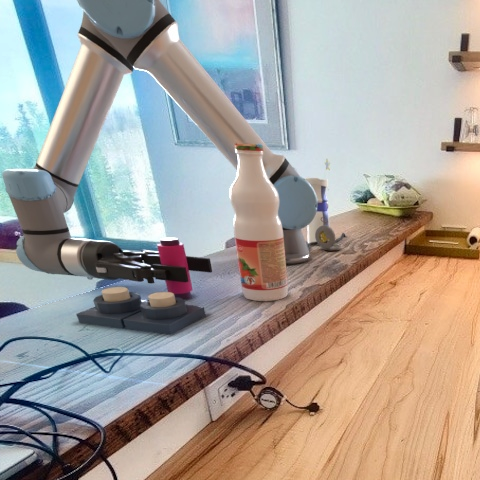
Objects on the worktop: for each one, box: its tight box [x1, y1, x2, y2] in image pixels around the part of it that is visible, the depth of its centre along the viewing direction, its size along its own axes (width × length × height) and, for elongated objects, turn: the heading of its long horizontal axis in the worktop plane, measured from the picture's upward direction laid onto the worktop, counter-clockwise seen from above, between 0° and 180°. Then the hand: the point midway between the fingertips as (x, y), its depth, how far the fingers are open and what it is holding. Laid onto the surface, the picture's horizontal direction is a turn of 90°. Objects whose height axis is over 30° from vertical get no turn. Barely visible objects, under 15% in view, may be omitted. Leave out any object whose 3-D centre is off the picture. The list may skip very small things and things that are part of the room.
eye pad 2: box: [147, 291, 176, 307], centre depth 73 cm, size 4×4×2 cm
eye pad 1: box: [101, 286, 130, 302], centre depth 75 cm, size 4×4×2 cm
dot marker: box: [156, 237, 194, 301], centre depth 84 cm, size 5×5×12 cm
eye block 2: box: [123, 297, 206, 335], centre depth 75 cm, size 10×8×4 cm
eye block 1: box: [76, 291, 147, 329], centre depth 76 cm, size 10×8×4 cm
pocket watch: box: [315, 217, 343, 252], centre depth 132 cm, size 8×8×10 cm
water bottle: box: [303, 158, 331, 244], centre depth 137 cm, size 8×9×25 cm
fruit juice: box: [229, 143, 289, 302], centre depth 84 cm, size 9×9×28 cm
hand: (198, 269), depth 84 cm, fingers open, 7 cm apart
